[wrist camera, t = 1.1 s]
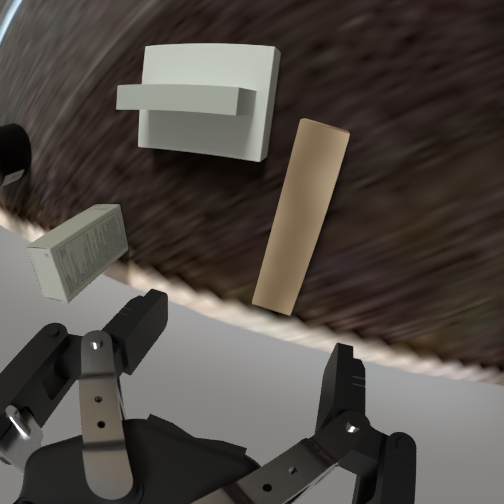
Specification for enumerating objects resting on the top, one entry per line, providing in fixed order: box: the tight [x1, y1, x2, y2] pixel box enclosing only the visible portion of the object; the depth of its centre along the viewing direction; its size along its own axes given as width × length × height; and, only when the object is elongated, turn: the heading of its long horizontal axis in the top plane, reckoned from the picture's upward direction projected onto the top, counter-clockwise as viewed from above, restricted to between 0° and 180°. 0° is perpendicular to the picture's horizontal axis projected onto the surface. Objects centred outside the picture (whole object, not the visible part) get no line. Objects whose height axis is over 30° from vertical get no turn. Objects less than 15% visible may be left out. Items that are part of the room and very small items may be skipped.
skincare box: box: [26, 204, 128, 303], centre depth 32 cm, size 6×4×12 cm
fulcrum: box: [116, 44, 281, 162], centre depth 24 cm, size 12×10×8 cm
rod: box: [252, 118, 350, 316], centre depth 29 cm, size 4×18×4 cm, turn 168°
